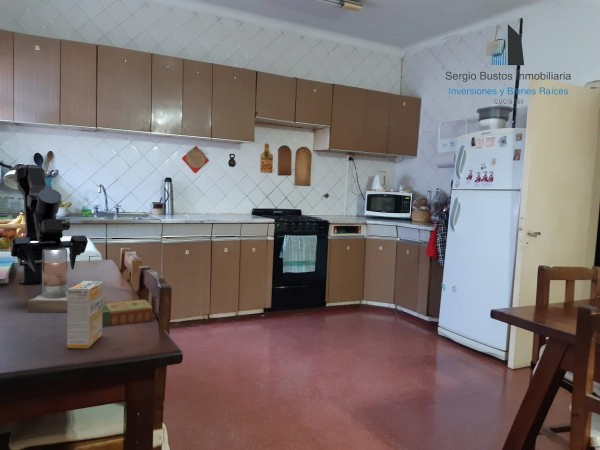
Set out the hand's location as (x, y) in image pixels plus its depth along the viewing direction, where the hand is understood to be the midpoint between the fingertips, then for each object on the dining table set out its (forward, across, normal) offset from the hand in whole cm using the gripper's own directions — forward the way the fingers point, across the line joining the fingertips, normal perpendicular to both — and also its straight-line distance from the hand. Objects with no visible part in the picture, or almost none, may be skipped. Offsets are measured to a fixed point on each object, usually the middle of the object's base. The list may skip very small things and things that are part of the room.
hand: (54, 270), depth 123 cm
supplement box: (+30, 0, -16) cm, 34 cm away
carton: (+22, +11, -7) cm, 25 cm away
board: (+8, 0, +7) cm, 10 cm away
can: (+5, 0, +5) cm, 7 cm away
